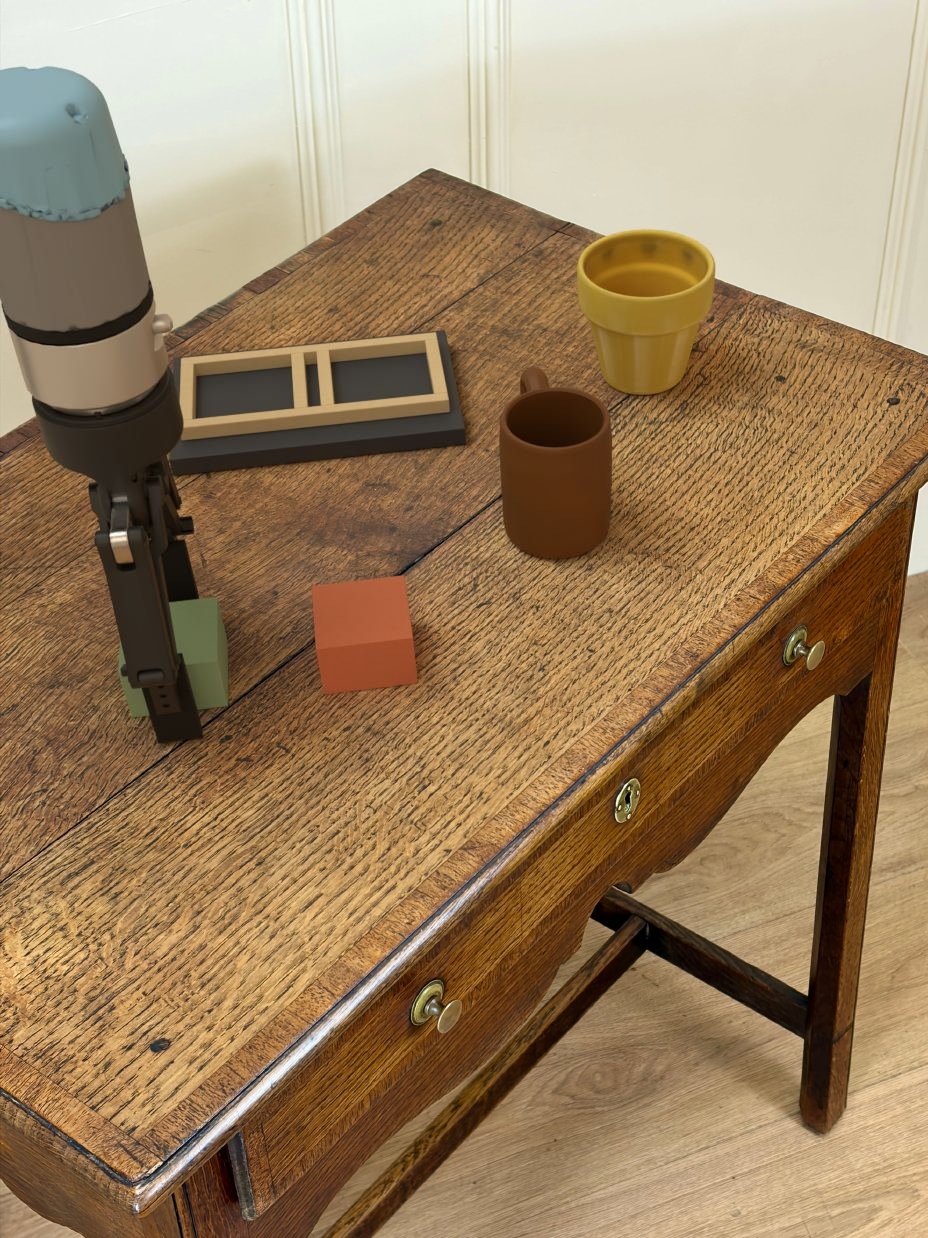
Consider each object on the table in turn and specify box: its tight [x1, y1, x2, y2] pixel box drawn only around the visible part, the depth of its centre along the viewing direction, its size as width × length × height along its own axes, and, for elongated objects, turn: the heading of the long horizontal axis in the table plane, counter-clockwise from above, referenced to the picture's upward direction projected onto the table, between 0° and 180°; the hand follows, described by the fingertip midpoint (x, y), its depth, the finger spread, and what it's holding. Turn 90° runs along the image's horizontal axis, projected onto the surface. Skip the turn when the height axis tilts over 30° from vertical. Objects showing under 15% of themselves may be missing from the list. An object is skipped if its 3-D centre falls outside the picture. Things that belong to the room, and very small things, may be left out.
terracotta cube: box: [311, 574, 419, 695], centre depth 94 cm, size 6×6×4 cm
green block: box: [117, 596, 229, 719], centre depth 93 cm, size 6×6×4 cm
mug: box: [498, 365, 613, 560], centre depth 103 cm, size 12×8×9 cm, turn 13°
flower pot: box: [576, 228, 716, 396], centre depth 115 cm, size 10×10×10 cm
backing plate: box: [168, 329, 467, 477], centre depth 115 cm, size 22×14×3 cm, turn 98°
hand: (181, 676), depth 95 cm, fingers open, 10 cm apart
